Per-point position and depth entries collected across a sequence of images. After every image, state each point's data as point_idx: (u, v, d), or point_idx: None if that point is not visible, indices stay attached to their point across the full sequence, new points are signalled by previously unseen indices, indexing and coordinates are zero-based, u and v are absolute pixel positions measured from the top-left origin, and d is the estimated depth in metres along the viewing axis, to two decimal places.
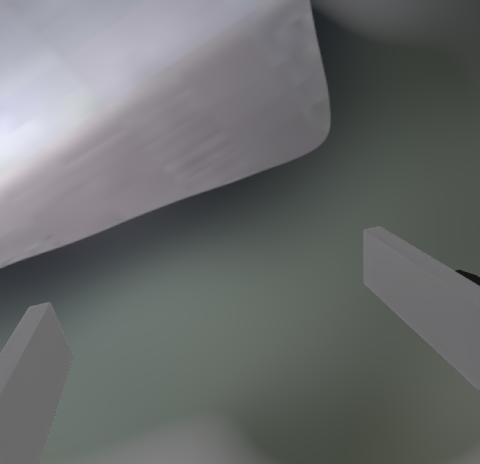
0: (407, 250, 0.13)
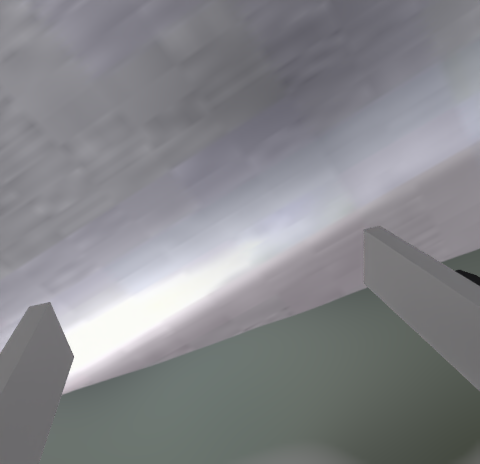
0: (407, 250, 0.13)
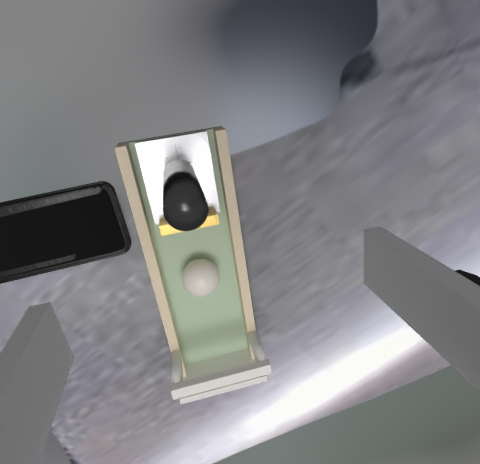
0: (407, 250, 0.13)
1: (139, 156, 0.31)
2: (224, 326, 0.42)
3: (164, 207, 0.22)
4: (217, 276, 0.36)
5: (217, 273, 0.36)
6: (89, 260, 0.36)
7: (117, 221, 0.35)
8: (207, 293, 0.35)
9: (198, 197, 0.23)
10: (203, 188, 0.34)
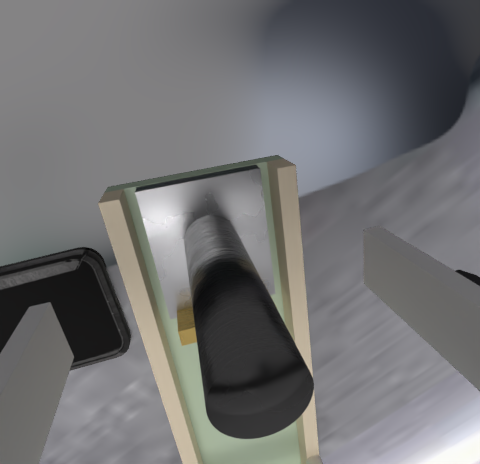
0: (407, 250, 0.13)
1: (143, 213, 0.18)
2: (269, 443, 0.28)
3: (209, 399, 0.09)
4: None
5: None
6: None
7: (108, 310, 0.22)
8: None
9: (293, 370, 0.09)
10: (250, 259, 0.20)
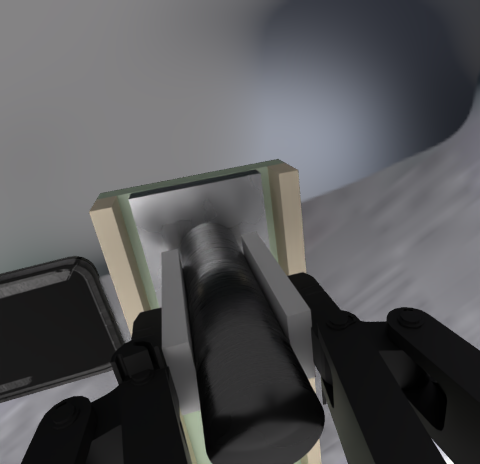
0: (261, 254, 0.14)
1: (137, 222, 0.17)
2: None
3: (209, 437, 0.08)
4: None
5: None
6: (55, 383, 0.21)
7: (101, 321, 0.21)
8: None
9: (302, 403, 0.08)
10: None
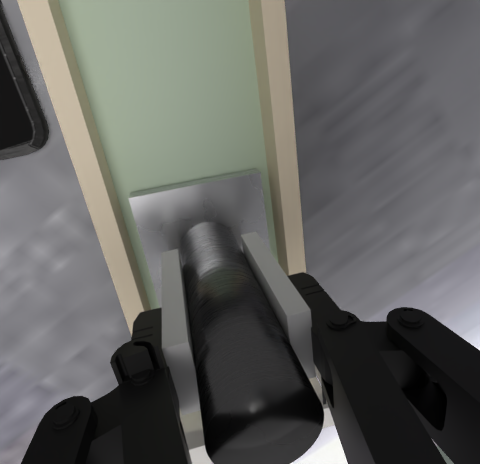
0: (261, 254, 0.14)
1: (137, 220, 0.17)
2: None
3: (209, 434, 0.08)
4: None
5: None
6: None
7: (6, 70, 0.15)
8: None
9: (301, 400, 0.08)
10: None
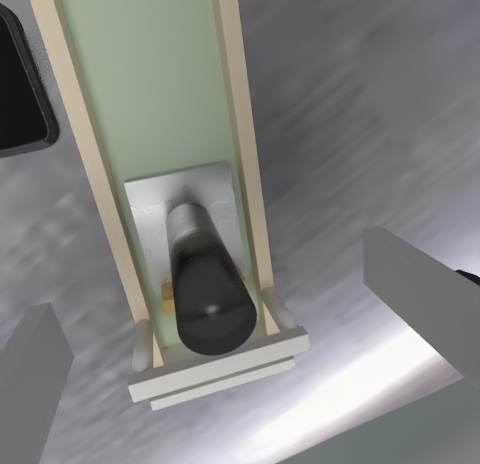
0: (407, 250, 0.13)
1: (131, 202, 0.21)
2: None
3: (179, 321, 0.12)
4: None
5: None
6: None
7: (28, 82, 0.19)
8: None
9: (240, 300, 0.13)
10: (223, 241, 0.24)
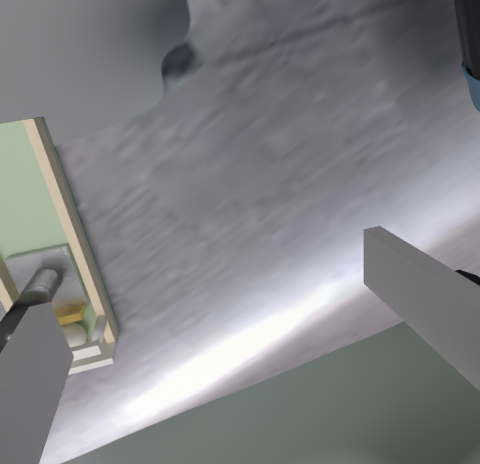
0: (407, 250, 0.13)
1: (9, 269, 0.38)
2: None
3: None
4: (80, 329, 0.42)
5: (81, 328, 0.42)
6: None
7: None
8: None
9: None
10: (70, 289, 0.41)
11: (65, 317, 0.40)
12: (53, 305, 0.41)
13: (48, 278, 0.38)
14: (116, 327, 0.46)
